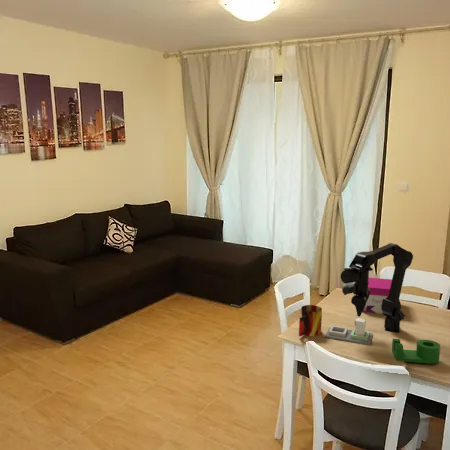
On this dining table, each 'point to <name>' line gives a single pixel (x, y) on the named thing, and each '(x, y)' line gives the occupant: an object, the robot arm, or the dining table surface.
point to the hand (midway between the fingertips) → (360, 313)
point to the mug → (310, 320)
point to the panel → (348, 335)
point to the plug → (360, 327)
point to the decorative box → (377, 294)
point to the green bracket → (417, 352)
